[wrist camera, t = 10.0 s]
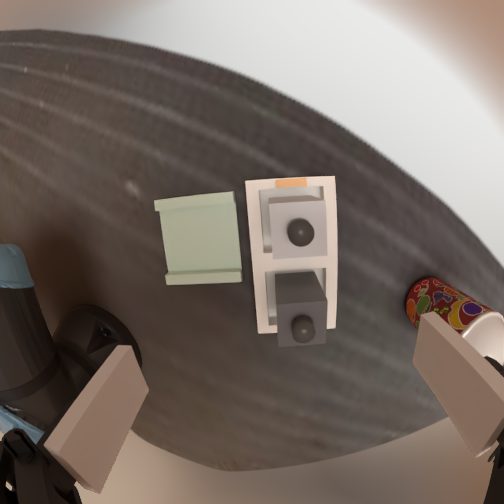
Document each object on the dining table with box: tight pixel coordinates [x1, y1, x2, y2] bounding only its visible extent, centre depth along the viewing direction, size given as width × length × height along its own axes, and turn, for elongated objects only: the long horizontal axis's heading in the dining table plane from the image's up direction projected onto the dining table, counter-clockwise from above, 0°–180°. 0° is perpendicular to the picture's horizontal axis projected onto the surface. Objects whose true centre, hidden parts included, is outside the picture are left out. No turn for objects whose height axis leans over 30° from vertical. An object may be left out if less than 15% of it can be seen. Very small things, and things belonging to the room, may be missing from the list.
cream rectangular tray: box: [245, 176, 337, 347], centre depth 26 cm, size 9×17×10 cm, turn 5°
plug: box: [269, 195, 327, 259], centre depth 25 cm, size 4×4×10 cm
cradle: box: [154, 191, 243, 285], centre depth 31 cm, size 9×10×2 cm
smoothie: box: [406, 278, 504, 366], centre depth 22 cm, size 8×8×20 cm
